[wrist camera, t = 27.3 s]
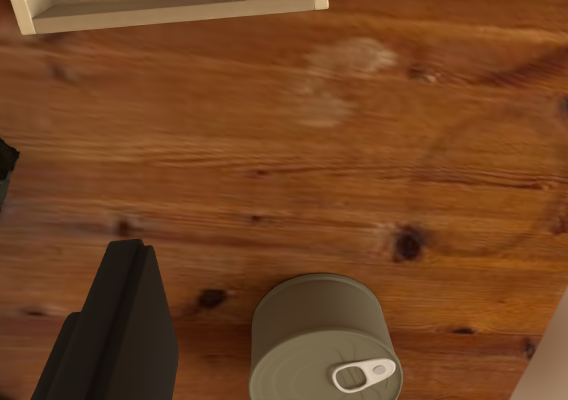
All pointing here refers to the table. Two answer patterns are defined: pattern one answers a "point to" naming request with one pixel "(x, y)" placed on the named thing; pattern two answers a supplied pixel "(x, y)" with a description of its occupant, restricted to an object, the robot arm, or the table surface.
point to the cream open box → (140, 12)
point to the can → (322, 343)
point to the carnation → (6, 167)
